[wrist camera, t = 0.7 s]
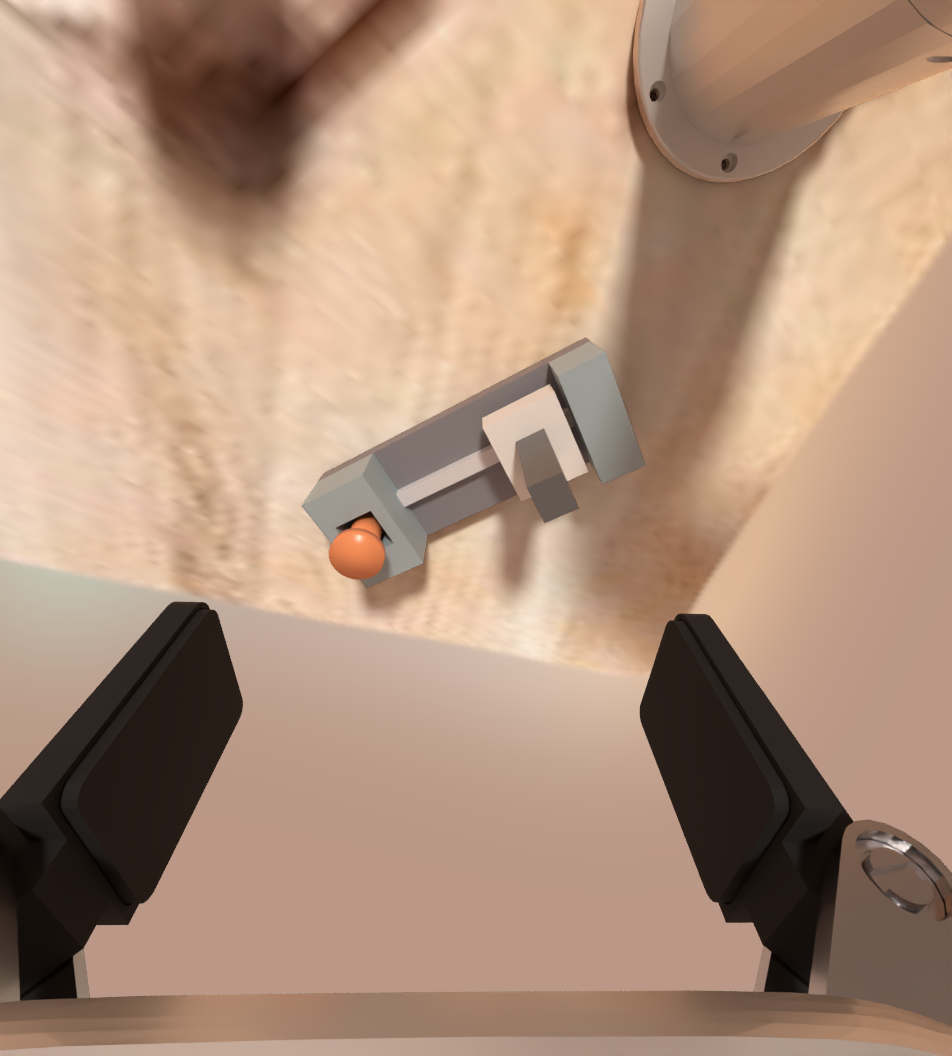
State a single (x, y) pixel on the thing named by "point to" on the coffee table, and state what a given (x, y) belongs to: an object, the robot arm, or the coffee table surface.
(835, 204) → the coffee table surface
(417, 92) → the coffee table surface
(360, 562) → the button
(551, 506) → the carriage
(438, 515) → the rail board
